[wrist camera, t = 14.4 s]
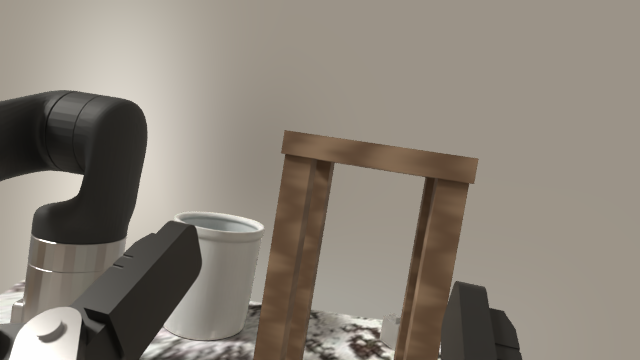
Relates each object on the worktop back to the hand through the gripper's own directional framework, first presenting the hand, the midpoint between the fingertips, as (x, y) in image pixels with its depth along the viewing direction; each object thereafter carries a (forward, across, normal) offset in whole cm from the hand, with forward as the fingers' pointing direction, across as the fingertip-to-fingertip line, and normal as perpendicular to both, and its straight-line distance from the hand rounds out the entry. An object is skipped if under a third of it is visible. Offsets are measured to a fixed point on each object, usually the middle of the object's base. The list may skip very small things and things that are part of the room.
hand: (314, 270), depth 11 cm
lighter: (+34, -7, +50) cm, 61 cm away
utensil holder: (+27, +25, +46) cm, 59 cm away
